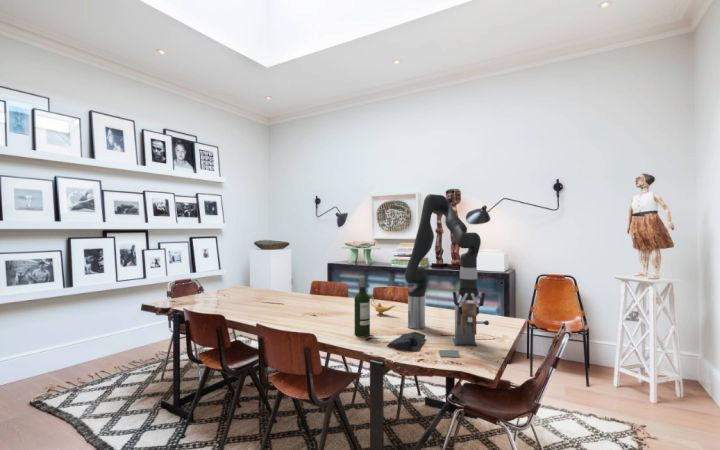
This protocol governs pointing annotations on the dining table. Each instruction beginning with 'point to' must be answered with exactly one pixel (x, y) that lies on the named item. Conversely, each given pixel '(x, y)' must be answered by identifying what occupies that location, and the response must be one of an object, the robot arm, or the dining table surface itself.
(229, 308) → the dining table surface
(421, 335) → the dark slate chunk
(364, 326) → the wine bottle
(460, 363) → the dining table surface
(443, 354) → the felt pad
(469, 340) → the vise stand
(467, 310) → the slotted wooden collar
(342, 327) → the dining table surface
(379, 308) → the magic lamp
